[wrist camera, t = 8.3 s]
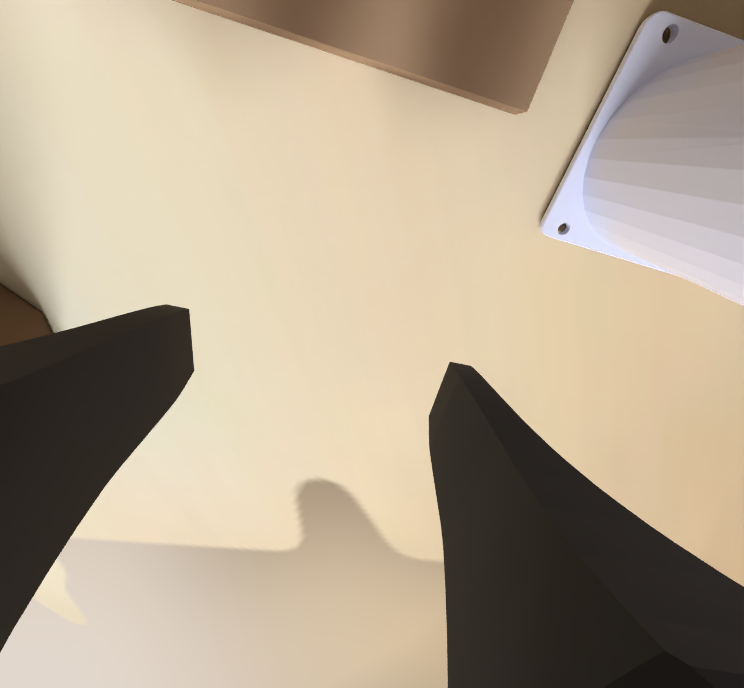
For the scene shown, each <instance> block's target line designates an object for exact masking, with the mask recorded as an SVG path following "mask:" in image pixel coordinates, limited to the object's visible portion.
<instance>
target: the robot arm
mask: <svg viewBox="0 0 744 688" xmlns="http://www.w3.org/2000/svg"><path fill="white" fill-rule="evenodd" d="M666 27H668V28H669V29H670V31H671V35H670V38H669V40H668V41H667V43H664V42H663V41H662V35H663V31H664V30H665V29H666ZM563 223H566V229H565V230H564V231H563V232H561V233H558V227H559V226H560V225H561V224H563ZM540 231H541V232H542V233H543V234H544V235H546V236H548V237H551V238H554V239H558V240H561V241H564V242H568V243H571V244H574V245H577V246H581V247H584V248H587V249H591V250H594V251H597V252H601V253H604V254H607V255H611V256H614V257H617V258H620V259H624V260H627V261H630V262H634V263H637V264H640V265H644V266H647V267H650V268H653V269H657V270H660V271H663V272H667V273H670V274H673V275H677V276H680V277H682V278H684V279H686V280H688V281H691V282H693V283H695V284H697V285H699V286H701V287H703V288H706V289H708V290H710V291H712V292H714V293H716V294H719V295H721V296H723V297H725V298H727V299H729V300H731V301H734V302H736V303H738V304H740V305H742V306H744V40H742V39H739V38H736V37H734V36H731V35H729V34H726V33H723V32H721V31H718V30H715V29H713V28H710V27H707V26H705V25H702V24H699V23H697V22H694V21H691V20H689V19H686V18H684V17H681V16H678V15H676V14H673V13H670V12H668V11H659V12H656V13H654V14H652V15H650V16H649V17H647V18H646V19H645V20H644V21H643V22H642V24H641V25H640V27H639V28H638V30H637V32H636V34H635V36H634V38H633V40H632V42H631V44H630V46H629V48H628V50H627V52H626V54H625V56H624V58H623V60H622V62H621V64H620V66H619V68H618V70H617V72H616V74H615V76H614V78H613V80H612V82H611V84H610V86H609V88H608V90H607V92H606V94H605V96H604V98H603V100H602V102H601V104H600V106H599V108H598V110H597V112H596V114H595V116H594V117H593V119H592V121H591V123H590V125H589V127H588V129H587V131H586V133H585V135H584V137H583V139H582V141H581V143H580V145H579V147H578V149H577V151H576V153H575V155H574V157H573V159H572V161H571V163H570V165H569V167H568V169H567V171H566V173H565V175H564V177H563V179H562V181H561V183H560V185H559V187H558V189H557V191H556V193H555V195H554V197H553V199H552V201H551V203H550V204H549V206H548V208H547V210H546V212H545V214H544V216H543V218H542V220H541V223H540ZM193 372H194V364H193V351H192V339H191V327H190V315H189V309H186V308H181V307H176V306H171V305H160V306H154V307H150V308H146V309H142V310H138V311H134V312H130V313H127V314H123V315H120V316H116V317H112V318H109V319H105V320H102V321H98V322H94V323H91V324H87V325H84V326H80V327H76V328H73V329H69V330H65V331H61V332H57V333H53V334H49V335H45V336H41V337H37V338H33V339H29V340H25V341H21V342H17V343H12V344H8V345H3V346H0V652H1V650H2V648H3V646H4V644H5V643H6V641H7V639H8V637H9V636H10V634H11V632H12V630H13V629H14V627H15V625H16V624H17V622H18V620H19V618H20V617H21V615H22V614H23V612H24V611H25V609H26V607H27V605H28V604H29V602H30V601H31V599H32V597H33V596H34V594H35V592H36V591H37V589H38V587H39V586H40V584H41V583H42V581H43V579H44V578H45V576H46V574H47V573H48V571H49V569H50V568H51V566H52V565H53V563H54V562H55V560H56V559H57V557H58V556H59V554H60V552H61V551H62V549H63V548H64V546H65V545H66V543H67V542H68V540H69V539H70V537H71V536H72V534H73V532H74V531H75V529H76V528H77V526H78V525H79V523H80V522H81V520H82V519H83V518H84V516H85V515H86V513H87V512H88V510H89V509H90V507H91V506H92V504H93V503H94V502H95V500H96V499H97V497H98V496H99V494H100V493H101V491H102V490H103V488H104V487H105V486H106V484H107V483H108V482H109V481H110V479H111V478H112V477H113V475H114V474H115V473H116V472H117V470H118V469H119V468H120V467H121V465H122V464H123V463H124V462H125V461H126V460H127V458H128V457H129V456H130V455H131V454H132V452H133V451H134V450H135V449H136V448H137V446H138V445H139V444H140V443H141V442H142V441H143V439H144V438H145V437H146V436H147V435H148V433H149V432H150V431H151V430H152V429H153V428H154V426H155V425H156V424H157V423H158V422H159V420H160V419H161V418H162V417H163V416H164V414H165V413H166V412H167V411H168V410H169V408H170V407H171V406H172V405H173V403H174V402H175V401H176V399H177V398H178V396H179V395H180V393H181V392H182V390H183V389H184V387H185V385H186V384H187V382H188V380H189V379H190V377H191V375H192V373H193ZM429 448H430V456H431V463H432V470H433V476H434V483H435V489H436V496H437V502H438V509H439V515H440V522H441V529H442V538H443V550H444V567H445V587H446V614H447V654H448V656H447V657H448V688H744V587H743V586H741V585H740V584H738V583H736V582H735V581H733V580H732V579H730V578H728V577H727V576H725V575H724V574H722V573H720V572H719V571H717V570H716V569H714V568H713V567H711V566H710V565H708V564H707V563H705V562H704V561H702V560H700V559H699V558H697V557H696V556H694V555H693V554H691V553H690V552H688V551H687V550H685V549H684V548H682V547H680V546H679V545H677V544H676V543H674V542H673V541H672V540H670V539H669V538H667V537H666V536H664V535H663V534H661V533H660V532H658V531H657V530H656V529H654V528H653V527H651V526H650V525H648V524H647V523H645V522H644V521H643V520H641V519H640V518H639V517H637V516H636V515H635V514H633V513H632V512H630V511H629V510H628V509H626V508H625V507H624V506H622V505H621V504H620V503H618V502H617V501H615V500H614V499H613V498H611V497H610V496H609V495H608V494H606V493H605V492H604V491H602V490H601V489H600V488H599V487H597V486H596V485H595V484H593V483H592V482H591V481H590V480H589V479H587V478H586V477H585V476H584V475H583V474H581V473H580V472H579V471H578V470H577V469H575V468H574V467H573V466H572V465H571V464H569V463H568V462H567V461H566V460H565V459H564V458H562V457H561V456H560V455H559V454H558V453H557V452H556V451H555V450H553V449H552V448H551V447H550V446H549V445H548V444H547V443H546V442H545V441H544V440H543V439H542V438H541V437H540V436H539V435H538V434H537V433H535V432H534V431H533V430H532V429H531V428H530V427H529V426H528V425H527V424H526V423H525V422H524V421H523V420H522V419H521V418H520V417H519V416H518V415H517V413H516V412H515V411H514V410H513V409H512V408H511V407H510V406H509V405H508V404H507V403H506V402H505V401H504V400H503V399H502V398H501V397H500V395H499V394H498V393H497V392H496V391H495V390H494V389H493V388H492V387H491V386H490V385H489V384H488V383H487V381H486V380H485V379H484V378H483V377H482V376H481V375H480V374H479V373H478V372H477V371H476V370H475V369H474V368H473V367H471V366H468V365H463V364H458V363H453V362H450V363H449V365H448V368H447V371H446V373H445V376H444V378H443V381H442V383H441V386H440V389H439V391H438V394H437V396H436V399H435V402H434V404H433V407H432V409H431V412H430V415H429Z"/></svg>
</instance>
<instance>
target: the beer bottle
mask: <svg viewBox="0 0 744 688" xmlns="http://www.w3.org/2000/svg"><path fill="white" fill-rule="evenodd" d="M49 334H53V333H52V331H51V329H50V327H49V325H48V323H47V321H46V319H45V317H44V315H43V313H42V312H41V311H40V310H38V309H37V308H35V307H34V306H32V305H31V304H29V303H28V302H26V301H25V300H23V299H22V298H21V297H19V296H18V295H16V294H15V293H13V292H12V291H10V290H9V289H7V288H6V287H4V286H3V285H1V284H0V346H3V345H8V344H12V343H17V342H21V341H25V340H29V339H33V338H37V337H41V336H45V335H49Z"/></svg>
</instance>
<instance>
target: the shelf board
mask: <svg viewBox="0 0 744 688" xmlns="http://www.w3.org/2000/svg"><path fill="white" fill-rule="evenodd" d="M173 1H176V2H179V3H182V4H185V5H188V6H191V7H194V8H197V9H200V10H203V11H206V12H209V13H212V14H215V15H218V16H221V17H224V18H227V19H230V20H233V21H236V22H239V23H242V24H245V25H248V26H251V27H254V28H257V29H260V30H263V31H266V32H269V33H272V34H275V35H278V36H281V37H284V38H287V39H290V40H293V41H296V42H299V43H302V44H305V45H308V46H311V47H314V48H317V49H320V50H323V51H326V52H329V53H332V54H335V55H338V56H341V57H344V58H347V59H350V60H353V61H356V62H359V63H362V64H365V65H368V66H371V67H374V68H377V69H380V70H383V71H386V72H389V73H392V74H395V75H398V76H401V77H404V78H407V79H410V80H413V81H416V82H419V83H422V84H425V85H428V86H431V87H434V88H437V89H440V90H443V91H446V92H449V93H452V94H455V95H458V96H461V97H464V98H467V99H470V100H473V101H476V102H479V103H482V104H485V105H488V106H491V107H494V108H497V109H500V110H503V111H506V112H509V113H512V114H519V113H523V112H527V111H528V108H529V106H530V103H531V101H532V99H533V96H534V94H535V91H536V89H537V87H538V84H539V82H540V80H541V77H542V75H543V72H544V70H545V68H546V65H547V63H548V60H549V58H550V56H551V53H552V51H553V48H554V46H555V44H556V41H557V39H558V36H559V34H560V32H561V29H562V27H563V25H564V22H565V20H566V17H567V15H568V13H569V10H570V8H571V5H572V3H573V1H574V0H173Z"/></svg>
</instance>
